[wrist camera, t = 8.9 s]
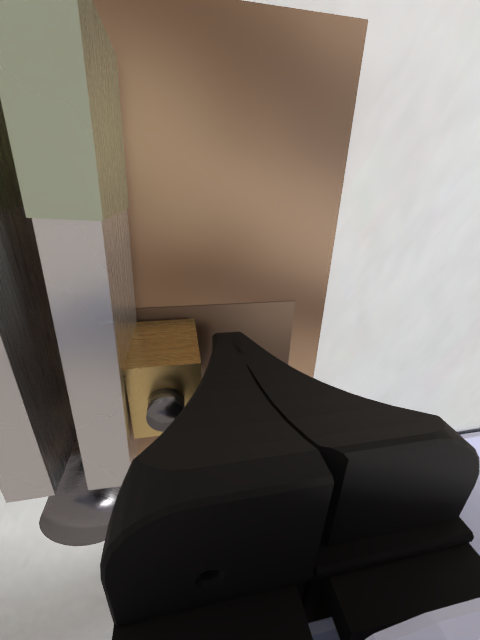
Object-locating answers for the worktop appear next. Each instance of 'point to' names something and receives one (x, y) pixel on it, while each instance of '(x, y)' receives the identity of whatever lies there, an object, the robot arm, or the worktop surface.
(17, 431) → the tongs fixed
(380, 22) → the worktop surface
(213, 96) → the board
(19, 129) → the bar
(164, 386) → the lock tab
